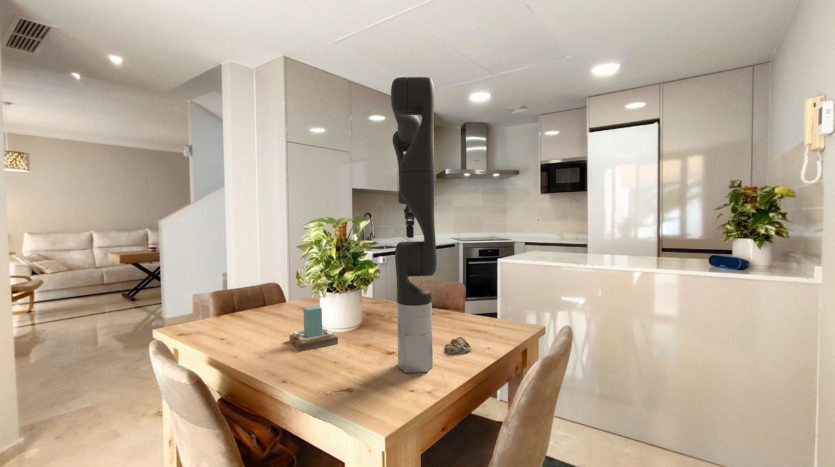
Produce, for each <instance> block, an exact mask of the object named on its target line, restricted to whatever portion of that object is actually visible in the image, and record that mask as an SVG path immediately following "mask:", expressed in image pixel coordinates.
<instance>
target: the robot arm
mask: <svg viewBox="0 0 835 467" xmlns="http://www.w3.org/2000/svg"><path fill="white" fill-rule="evenodd" d="M390 100H391V101H390V102H391V108H392V112H393V115H394V119H395V121H396V124H397V131H396V130H395V132H394V133H393V135H392V145H393V148H394V152H395V155H396V159H397V167H398V170H397V171H398V173H397V175H398V179H397V202H398V204H399V205H405V208H404V209H403V216H404V220H403V221H404V223H405V231H406V234H405V235H406V238H408V239H413V238H414V233H415V230H414V226H415V221H416V222H417V224H418V225H419V227H420V229H421V232H422V235H423V241H421V240H420V241H419V240H418V241H416V240H415V241H399V242H398V243H396V246H395V250H394V260H395V261H394V262H395V273H396V274H395V275H396V315H397V316H396V320H397V321H396V324H397V325H396V326H397V358H398V359H397V363H398V364H397V366H398V369H400V371H401V370H402V371H403V373H406V374H407V373H428V372H429V370H431V369H432V368H433V365H434V364H433V363H434V362H433V360H434V359H433V358H434V357H433V351H434V350H433V315H432V314H433V309H432V308H433V306H432V301H433V299H432V297H433V295H432V291H431V290H429V289H428V288H426V287H425V288H424V287H421V286H418V285H416V284H414V283H413V282H412V281H410V279H409V277H431V276H434V275H435V273H436V270H437V264H438V263H437V261H438V260H437V258H438V257H437V255H438V254H437V242H436V241H437V240H436V229H435V228H436V226H435V163H434V119H435V118H434V117H435V116H434V115H435V114H434V113H435V85H434V82H433V80H432V78H430V77H427V76H402V77H401V76H399V77H397V78H396V77H395V78H394V79H393V81H392V83H391V88H390ZM418 116H421V120H420V119H419V117H418ZM404 152H405V153H404Z"/></svg>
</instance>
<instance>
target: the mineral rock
mask: <svg viewBox="0 0 835 467" xmlns="http://www.w3.org/2000/svg"><path fill="white" fill-rule="evenodd" d="M444 348H445V349H444V350H445V352H448V353H449V354H457V355H465V354H467V353H471V351H472V348H471V345H470V343H469V342H468V341H467V340H466V339H465V338H464V337H462V336H458V337H456V338H452V339H451V341H450V342H449V343H447V344H445V345H444Z"/></svg>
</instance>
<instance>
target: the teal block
mask: <svg viewBox="0 0 835 467" xmlns="http://www.w3.org/2000/svg"><path fill="white" fill-rule="evenodd" d="M302 310H303V330H304V335H305V336H306V337H307V338H310V337H316V336H321V335H322V327H323V315H322V314H323V308H321V307H320V306H318V305H314V306H306V307H303V308H302Z"/></svg>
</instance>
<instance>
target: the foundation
mask: <svg viewBox="0 0 835 467" xmlns="http://www.w3.org/2000/svg"><path fill="white" fill-rule="evenodd" d="M289 342H290V343H291V344H292V345H293V347H295V348H296V349H297V350H298V351H299V352H304V351H308V350H312V349H313V350H314V349H317V348H323V347H328V346H333V345H338V344H339V337H337V336H336V335H335V334H334V333H332V331H329V330H328V329H327V328H325V327H323V326H322V335H321V336H316V337H310V338H307V337H306V336H305V335H304V329H303V330H298V331H293V333H292V334H289Z"/></svg>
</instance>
